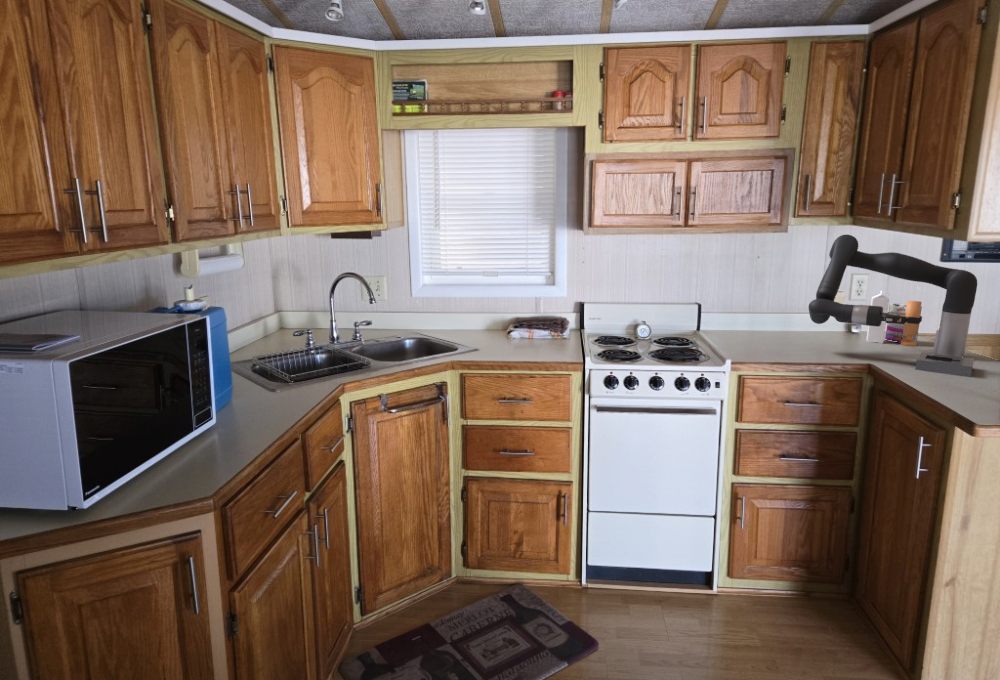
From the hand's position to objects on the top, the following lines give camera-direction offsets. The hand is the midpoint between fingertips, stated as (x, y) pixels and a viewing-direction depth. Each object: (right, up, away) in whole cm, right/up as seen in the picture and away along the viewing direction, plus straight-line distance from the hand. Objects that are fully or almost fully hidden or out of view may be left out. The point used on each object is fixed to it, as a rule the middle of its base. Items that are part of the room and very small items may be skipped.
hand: (920, 320), depth 233 cm
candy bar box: (+21, -8, +46) cm, 51 cm away
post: (-2, -9, +3) cm, 10 cm away
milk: (+10, -8, +46) cm, 48 cm away
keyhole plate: (+7, -17, -2) cm, 19 cm away
